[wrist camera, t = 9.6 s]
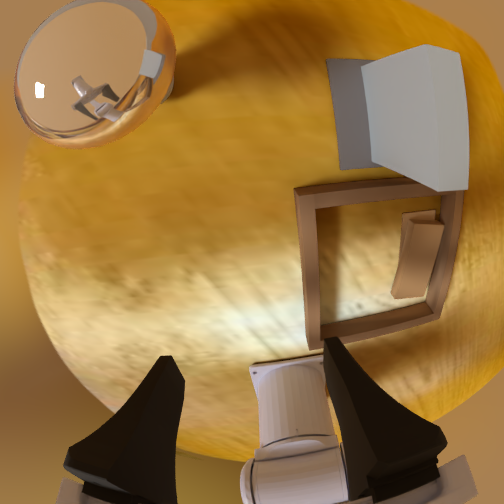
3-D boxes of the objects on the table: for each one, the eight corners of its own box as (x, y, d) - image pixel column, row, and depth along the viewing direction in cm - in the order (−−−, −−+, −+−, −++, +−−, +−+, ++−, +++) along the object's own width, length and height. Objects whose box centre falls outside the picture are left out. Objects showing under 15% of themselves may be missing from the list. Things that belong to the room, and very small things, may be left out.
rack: (430, 307, 24) (439, 318, 22) (305, 335, 25) (309, 350, 23) (450, 175, 18) (464, 181, 16) (293, 188, 19) (298, 196, 17)
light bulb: (179, 24, 13) (100, -62, 2) (224, 101, 16) (182, 66, 5) (98, 79, 14) (-30, 71, 4) (138, 152, 17) (19, 206, 7)
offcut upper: (418, 290, 23) (423, 296, 22) (390, 292, 23) (394, 299, 22) (438, 220, 20) (444, 225, 19) (408, 219, 20) (414, 223, 19)
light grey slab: (397, 160, 17) (467, 189, 10) (371, 161, 17) (437, 191, 10) (387, 68, 14) (459, 53, 7) (360, 66, 14) (425, 44, 7)
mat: (420, 164, 18) (422, 165, 17) (340, 169, 18) (341, 169, 18) (411, 65, 14) (413, 65, 14) (325, 59, 14) (326, 58, 14)
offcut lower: (419, 282, 24) (424, 287, 23) (390, 288, 24) (394, 294, 23) (429, 206, 20) (435, 210, 19) (397, 209, 20) (403, 213, 19)
